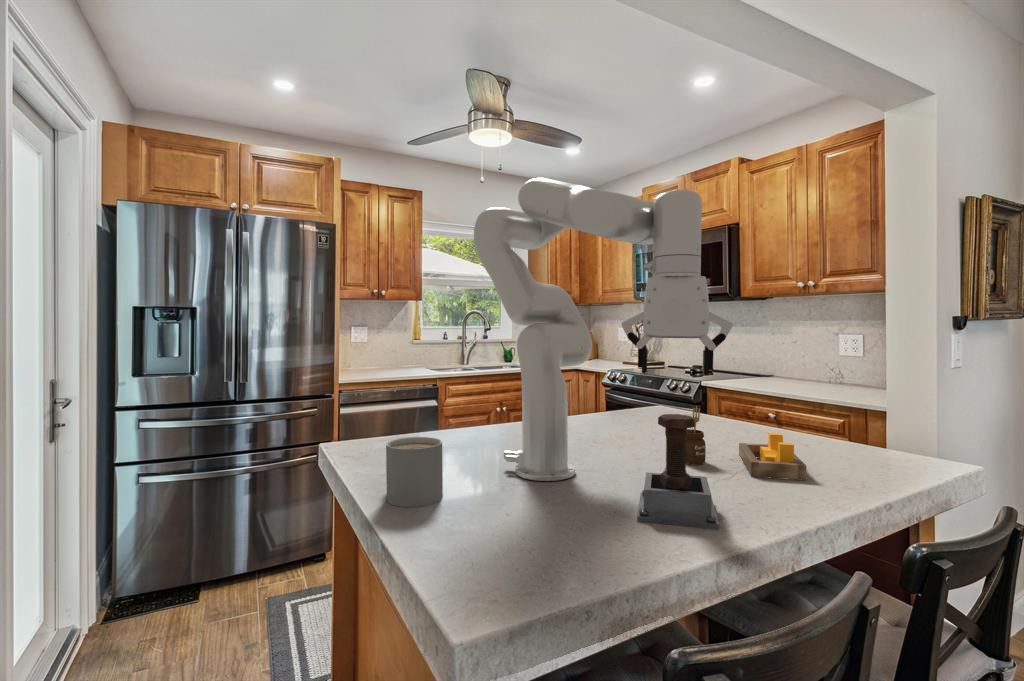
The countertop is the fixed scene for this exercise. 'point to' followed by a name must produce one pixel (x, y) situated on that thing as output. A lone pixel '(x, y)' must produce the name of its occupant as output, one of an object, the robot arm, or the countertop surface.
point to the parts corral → (770, 464)
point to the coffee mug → (414, 471)
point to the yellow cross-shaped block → (777, 450)
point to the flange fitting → (677, 504)
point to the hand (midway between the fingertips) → (674, 373)
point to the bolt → (676, 451)
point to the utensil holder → (695, 444)
